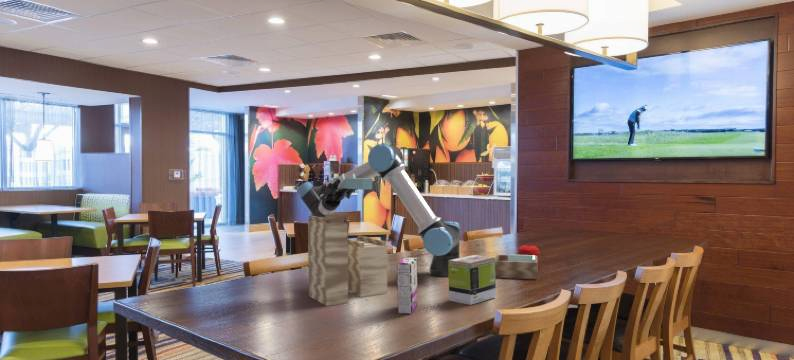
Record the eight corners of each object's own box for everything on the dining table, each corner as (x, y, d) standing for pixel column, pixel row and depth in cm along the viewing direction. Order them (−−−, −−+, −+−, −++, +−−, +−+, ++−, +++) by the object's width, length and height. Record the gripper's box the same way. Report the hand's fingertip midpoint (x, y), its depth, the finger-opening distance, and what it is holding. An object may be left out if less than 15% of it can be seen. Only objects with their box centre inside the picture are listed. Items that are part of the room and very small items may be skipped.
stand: (348, 302, 186) (347, 213, 186) (326, 306, 182) (325, 214, 182) (329, 293, 201) (328, 210, 200) (308, 296, 197) (308, 211, 196)
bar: (372, 189, 202) (372, 178, 202) (362, 189, 200) (362, 178, 200) (342, 187, 225) (342, 178, 225) (333, 187, 223) (333, 178, 223)
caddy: (537, 271, 242) (537, 255, 241) (537, 279, 224) (537, 262, 224) (496, 269, 246) (496, 254, 246) (493, 277, 229) (493, 261, 229)
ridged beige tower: (387, 293, 200) (386, 241, 200) (360, 297, 195) (360, 243, 194) (361, 283, 219) (360, 235, 219) (336, 286, 214) (335, 237, 213)
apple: (518, 268, 249) (518, 245, 249) (517, 264, 259) (517, 242, 259) (540, 268, 248) (540, 245, 248) (538, 265, 257) (538, 242, 257)
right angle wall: (507, 270, 244) (507, 254, 244) (535, 272, 241) (535, 255, 241) (506, 275, 232) (506, 258, 232) (534, 277, 229) (534, 259, 229)
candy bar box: (403, 305, 183) (403, 257, 183) (417, 305, 182) (417, 257, 182) (396, 313, 172) (396, 262, 172) (412, 314, 171) (411, 263, 171)
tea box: (474, 293, 199) (473, 254, 199) (496, 298, 192) (496, 257, 192) (447, 300, 189) (447, 258, 188) (470, 305, 181) (470, 262, 181)
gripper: (349, 210, 235) (370, 184, 218) (312, 211, 227) (331, 185, 209) (345, 195, 238) (366, 168, 221) (309, 196, 230) (327, 168, 212)
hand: (349, 176), depth 215 cm, fingers closed on bar, 4 cm apart
